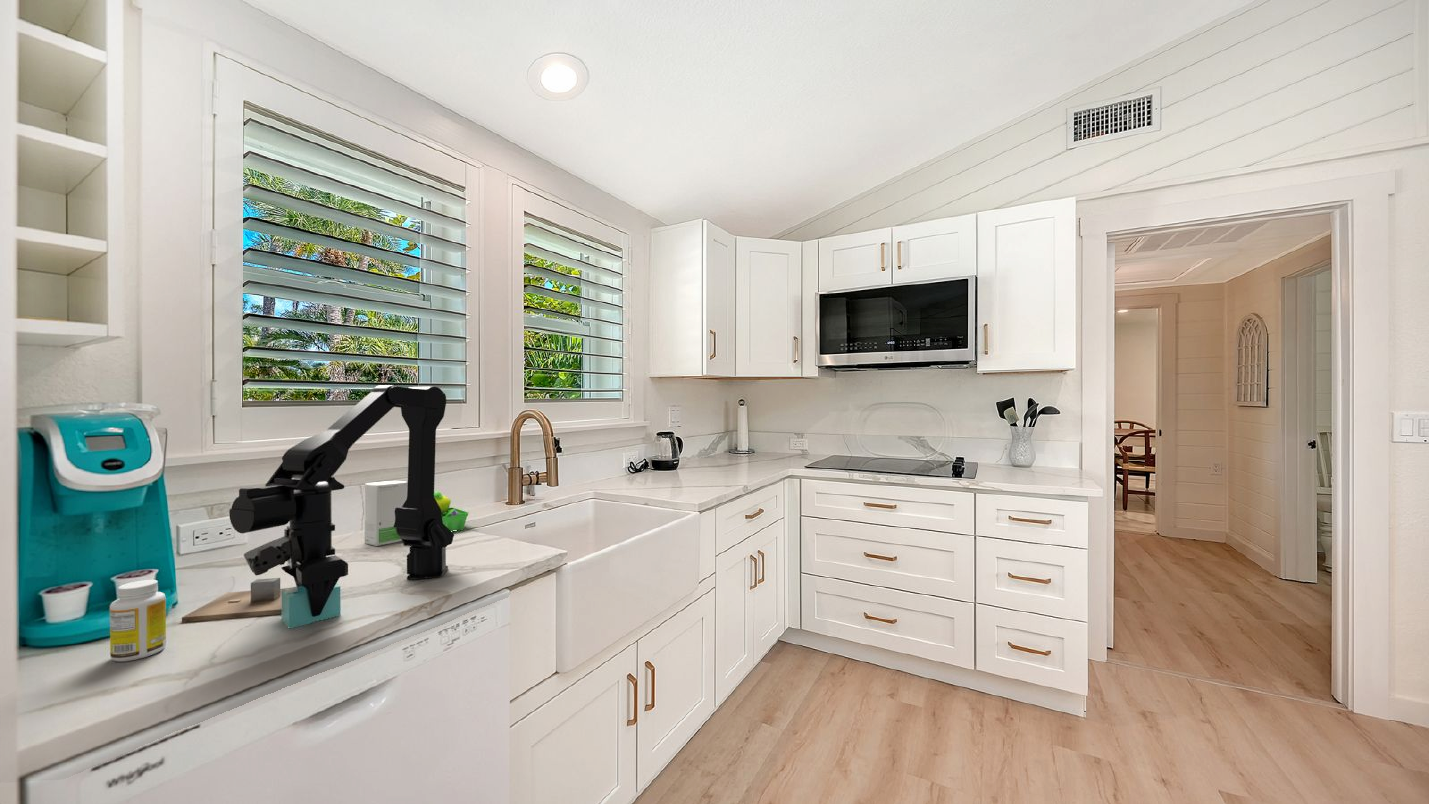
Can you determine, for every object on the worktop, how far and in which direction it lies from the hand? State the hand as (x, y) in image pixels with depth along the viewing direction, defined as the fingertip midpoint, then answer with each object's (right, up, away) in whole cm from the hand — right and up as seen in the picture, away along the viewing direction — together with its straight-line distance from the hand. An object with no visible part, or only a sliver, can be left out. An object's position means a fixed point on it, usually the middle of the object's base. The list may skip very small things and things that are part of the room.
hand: (311, 611), depth 91 cm
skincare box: (-17, -1, +49) cm, 52 cm away
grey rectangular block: (-13, -1, +6) cm, 14 cm away
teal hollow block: (0, -1, 0) cm, 1 cm away
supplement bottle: (-15, -1, -13) cm, 20 cm away
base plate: (-13, -1, +6) cm, 14 cm away
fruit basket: (-8, -1, +62) cm, 63 cm away
